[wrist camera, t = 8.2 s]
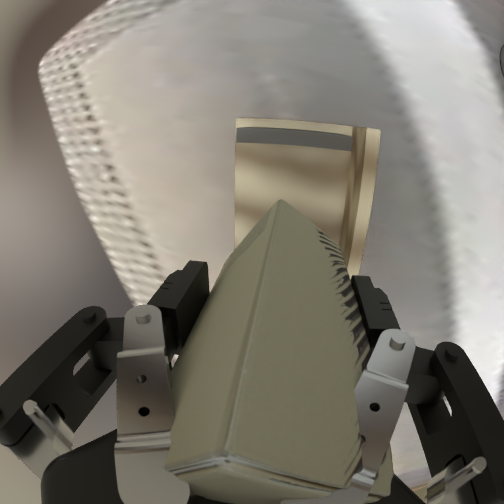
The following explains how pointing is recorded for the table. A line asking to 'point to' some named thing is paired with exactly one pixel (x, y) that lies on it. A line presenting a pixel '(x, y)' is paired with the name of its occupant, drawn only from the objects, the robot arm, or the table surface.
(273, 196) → the shelf
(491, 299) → the table surface
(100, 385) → the robot arm
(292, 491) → the box
